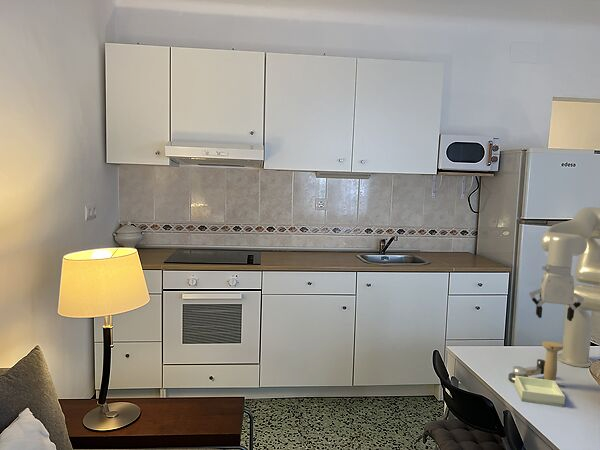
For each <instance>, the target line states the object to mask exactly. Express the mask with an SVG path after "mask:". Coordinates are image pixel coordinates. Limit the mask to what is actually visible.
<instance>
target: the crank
mask: <svg viewBox="0 0 600 450" xmlns="http://www.w3.org/2000/svg"><path fill="white" fill-rule="evenodd" d="M545 360H546V359H542V358H541V359H540V358H537V360H536V361H537V362H536V365H535V366H530V367H522V366H518V365H517V366H515V365H514V366H512V367H513V368H512V373H513V376H514V377H515V376H522V377H526V376H528V377H531V376H536V375H537V376H538V375H544V366H545Z"/></svg>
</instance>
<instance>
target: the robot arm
mask: <svg viewBox="0 0 600 450" xmlns="http://www.w3.org/2000/svg"><path fill="white" fill-rule="evenodd" d="M597 240H600V207H592V206H591V207H589V206H588V207H583V208H581V209H580V210H578V211H577V213H576V214H575V215H574V216H573V217H572V219H571V220H567V221H563V222H559V223H556V224H553V225H551V226H549V227H548V229H547V230H546V231H545V232H544V234H543V235H542V237H541V241H540V244H541V245H540V246H541V248H542V250H543V251H544V252H546V253H547V263H546V264H545V265H542V267H541V268H542V269H541V270H543V271H545V272H544V273H543V276H542V279H541V285H540V288H538V289H535V290H532V291H531V292H529V293H528V294H529V296H530V299H531V301H532V302H533V303H534V304H535V305H536V307H535V314H536V316H537V317H538V319H542V315H543V307H542V305H544V304H545V303H547V304H555V305H556V304H558V305H565V312H564V314H565V316H564V324H563V325H564V327H563V334H562V336H563V338H562V345H563V349H562V350H561V353H557V361H559V362H561V363H563V364H566V365H569V366H573V367H579V368H590V367H589V365H590V364H591V362H593V360H591V358H590V347H591V339H592V329H593V319H592V317H591V315H590V314H589V312H588V311H590V312H595V313H600V243H598V241H597ZM574 256H577V257H578V258H577V262H576V266H575V269H574V275H571V274H572V267H573V266H572V265H573V257H574ZM575 280H576V281H577V282H579V283H582V284H579V283H575ZM585 284H586V285H585ZM598 286H599V287H598ZM537 295H539V298H538V300H537V299H536V296H537ZM593 363H594V362H593Z"/></svg>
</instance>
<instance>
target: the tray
mask: <svg viewBox="0 0 600 450" xmlns="http://www.w3.org/2000/svg"><path fill="white" fill-rule="evenodd" d="M514 387H515V390H516V391H517V394H518V397H519V398H520V400H521V402H527V403H533V404H540V405H548V406H553V407H554V406H555V407H562V408H564V407H565V400H566V396H565V394H564V393H563V392H562V390H561V389H560V386H559V385H558V384H557V382H556V380H555V381H553V380H546V379H543V378H536V377H531V376H528V377H522V376H515V383H514Z"/></svg>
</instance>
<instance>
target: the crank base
mask: <svg viewBox="0 0 600 450" xmlns="http://www.w3.org/2000/svg"><path fill="white" fill-rule="evenodd" d="M526 377H529V376H526ZM507 380H508V381H509V382H511V383H513V384H515V377H514V376H513V372H510V373H508V379H507ZM558 387H562V388H563V387H564V388H566V385H562V384H559V385H558Z"/></svg>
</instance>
